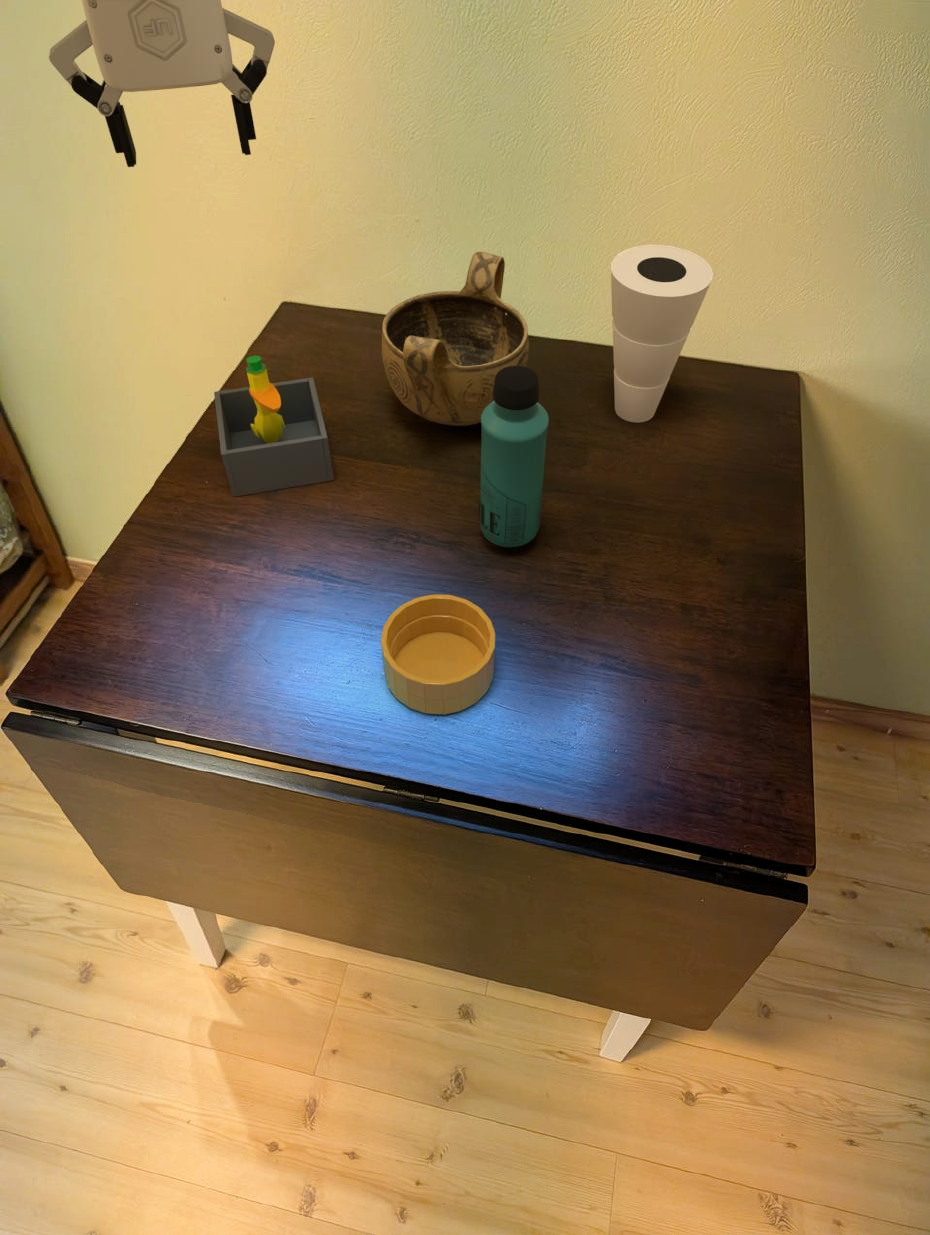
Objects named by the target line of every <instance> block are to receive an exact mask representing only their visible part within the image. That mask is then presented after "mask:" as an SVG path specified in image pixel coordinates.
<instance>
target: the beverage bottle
mask: <svg viewBox="0 0 930 1235" xmlns="http://www.w3.org/2000/svg"><path fill="white" fill-rule="evenodd" d="M493 399H494V401H493V402H491V403H490V404H489V405H488V406H487V407H486V408H485V409H484V410H483V413H482V415H481V423H480V424H481V439H480V447H479V457H480V460H479V462H478V464H479V465H480V484H479V486H480V487H479V506H478V524H479V529H480V531H481V533H482V534H483V536H484V537H485V538H486V539H487V541H489V542H490V543H492V544H494V545H497V546H499V547H504V548H517V547H521V546H524V545H527V544H528V543H531V541H533V540H534V538H535V537H536V536H537V533H539V531H540V530H541V528H540V526H541V525H542V523H541V520H542V514H543V506H544V504H543V503H544V501H543V498H544V491H545V490H544V489H545V486H544V482H545V480H546V479H544V478H545V470H546V469H545V459H546V447H547V438H548V437H547V436H548V428H549V425H550V424H549V423H550V417H549V414H548V411H547V410H546V408H545V407H544V406H542V404H541V403H540V402H539V399H540V380H539V376H538V374H537V373H536V371H534V370H533V369H531V368H529V367H528V366H527V367H524V366H509V367H505V368H503V369H501V370H500V371H499V372H498V373H497V374H496V376H495V381H494V388H493Z"/></svg>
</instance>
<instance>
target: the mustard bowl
mask: <svg viewBox="0 0 930 1235" xmlns="http://www.w3.org/2000/svg"><path fill="white" fill-rule="evenodd" d="M380 646H381V656H382V661H383V663H382V664H383V670H384V671H383V672H384V676H385V681H386V684H387V687H388V689H389V690H390V692H391V693H392V694H393V696H394V697H395V699H397V700H398V701H399V702H401V703H402V704H404V705H405V706H406V707H408V709H411V710H414V711H417V712H419V713H422V714H423V713H424V714H427V715H449V714H453V713H458V712H462V711H464V710H466V709H467V708H469V707H471V706H473V705H475V704H476V703H478V702H479V701H480V699H482V697H483V696H484V695H485V694H487V692H488V691H489V689H490V686H491V684H492V682H493V680H494V673H495V672H494V670H495V655H496V654H495V652H496V631H495V628H494V625H493V622H492V620H491V618H490V617H489V616H488V615H487V613H486V612H485V611H484V610H483V609H482V608H481V607H479V606H478V605H476V604H475V603H473V602H471V600H468V599H466V598H462V597H460V596H456V595H453V594H440V593H439V594H437V593H435V594H434V593H433V594H429V595H423V596H418V597H415V598H413V599H411V600H408V601H407V602H404V603H403V604H401V605H400V606H399V607H398V608H396V609H395V610H394V611H393V612H392V613H391V614H390V615H389V616H388V618H387V619H386V622H385V624H384V625H383V627H382V631H381V638H380Z"/></svg>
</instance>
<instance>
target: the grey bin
mask: <svg viewBox="0 0 930 1235" xmlns="http://www.w3.org/2000/svg"><path fill="white" fill-rule="evenodd" d="M271 383H272V384H273V385H274V387H275V388H276V389H277V391H278V393H279V395H280V399H281V406H280V409H279V410H278V412H276V413H277V414H279V415H281V416H282V418H283V421H284V426H285V428H284V427H283V426H282V428H283V434H282V435H281V437H280V439H279V440H278V441H279V442H276V443H269V444H267V443H266V442H265V441H263V440H262V439H261V438H258V437H257V436H255V434H254V433H253V431H252V428H251V425H250V424H254V425H255V419H254V418H255V417H256V415H257V410H258V409H257V407H256V404H255V401H254V399H253V397H252V396H251V394H250V392H249V388H250V386H244V387H238V388H231V389H223V390H217V391H214V392H213V395H214V403H215V412H216V421H217V430H218V437H219V438H218V439H219V440H218V441H219V446H220V447H219V448H220V449H219V450H220V455H221V459H222V462H223V466H224V470H225V473H226V477H227V481H228V483H229V488H230V491H231V495H232V497H234V498H236V497H241V496H247V495H248V496H249V495H253V494H258V493H259V494H260V493H265V492H271V491H277V490H283V489H289V488H295V487H296V488H297V487H301V486H307V485H313V484H319V483H326V482H332V481H335V476H334V469H333V464H332V456H331V450H330V444H329V438H328V432H327V429H326V425H325V421H324V417H323V413H322V412H323V411H322V408H321V404H320V400H319V396H318V392H317V388H316V384H315V383H316V382H315V379H314V377H305V378H300V379H291V380H286V381H279V382H271Z"/></svg>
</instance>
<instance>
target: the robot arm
mask: <svg viewBox="0 0 930 1235" xmlns="http://www.w3.org/2000/svg"><path fill="white" fill-rule="evenodd" d="M81 2H82V7H83V11H84V16H85V20H84V21H83V22H81V23H80V24H79V25H78V26H77V27H75V28H74V29H73V30H72V31H69V33H67V34H66V35H65V36H63V38H61V39H60V40H59V41H58V42H56V43H55V44H54V45H53V46H51V48H50V49H49V53H48V54H49V55H48V60H49V62H50V63H51V65H52V66H53V67H54V68H55V69H56V71H57V72H58V73H59V74H60V75H61V76H62V78H63V79H64V80H65V81H66V82H67V83H68V84H69V85H70V86H71V89H72V90H73V92H74V93H75V94H77V96H79V97H80V98H82V99H84V100H85V101H86V102H87V103H89V104H90V105H92V106H93V107H94V108H95V109H97V110H98V112H99V114H100V115H102V116H104V119H105V121H106V125H107V129H108V132H109V135H110V138H111V142H112V145H113V148H114V151H115V153H116V154H123V156H124V159H125V162H126V166H127V168H134V167H135V166H137V151H136V147H135V143H134V140H133V135H132V133H131V129H130V125H129V121H128V118H127V114H126V111H125V108H124V104H121V102H120V99H121V97H122V95H123V92H124V93H125V92H126V93H137V92H138V93H139V92H149V91H150V92H151V91H162V90H171V89H172V90H173V89H184V88H195V87H205V86H213V85H218V84H220V83H221V84H222V85H223V86H224V87H225V88H226V89H227V90H228V91H229V92H230V93H231V95H230V98H231V103H232V108H233V112H234V118H235V124H236V129H237V134H238V139H239V144H240V148H241V149H240V150H241V153H242V155H243V154H244V156H249V155H250V156H251V155H252V153H251V152H252V151H251V146H250V141H253V140H254V141H255V140H257V135H256V129H255V122H254V117H253V113H252V107H251V102H252V101H253V98H254V97H253V95H254V94H255V93H256V91H257V90H258V89H259V87H260V85H261V84H262V82H263V81H264V79H265V78H266V76H267V74H268V71H267V70H268V69H269V68H268V67H269V64H270V61H271V58H272V55H273V51H274V48H275V44H276V40H275V37H274V34H273V32H272V31H271V30H270V29H267V28H265V27H263V26H261V25H259V24H257V23H255V22H253V21H250V20H249V19H247V18H245V17H244V16H243V17H242V16H240V15H239V14H237V13H234V12H232V11H230V10H227V9H226V8H224V7H223V5H222V1H221V0H81ZM229 35H231V36H233V37H235V38H238V40H239V39H240V40H241V41H244V42H246V43H248V44H250V45H252V46H253V51H252V56H251V58H250V59H249V61H248V63H247V64H246V66H245V67H244V69H243V71H240V69H239V68H238V67H236V65H235V64H234V63H233V55H232V47H231V42H230V37H229ZM91 47H93V51H94V54H95V58H96V60H97V64H98V68H99V70H100V73H101V77H102V78H103V79H102V82H101V84H100V83H98V82H97V81H96V80H94V79H93V78H92V77H91V76H89V75H88V74H86V73H85V72H84V71H82V70H81V68H80V67H79V65H78V64H77V63H76V61H75V60H76V59H77V58H78V57H79V56H80V55H82V54H83V53H85V52H86V51H87V50H88V49H89V48H91Z"/></svg>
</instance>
